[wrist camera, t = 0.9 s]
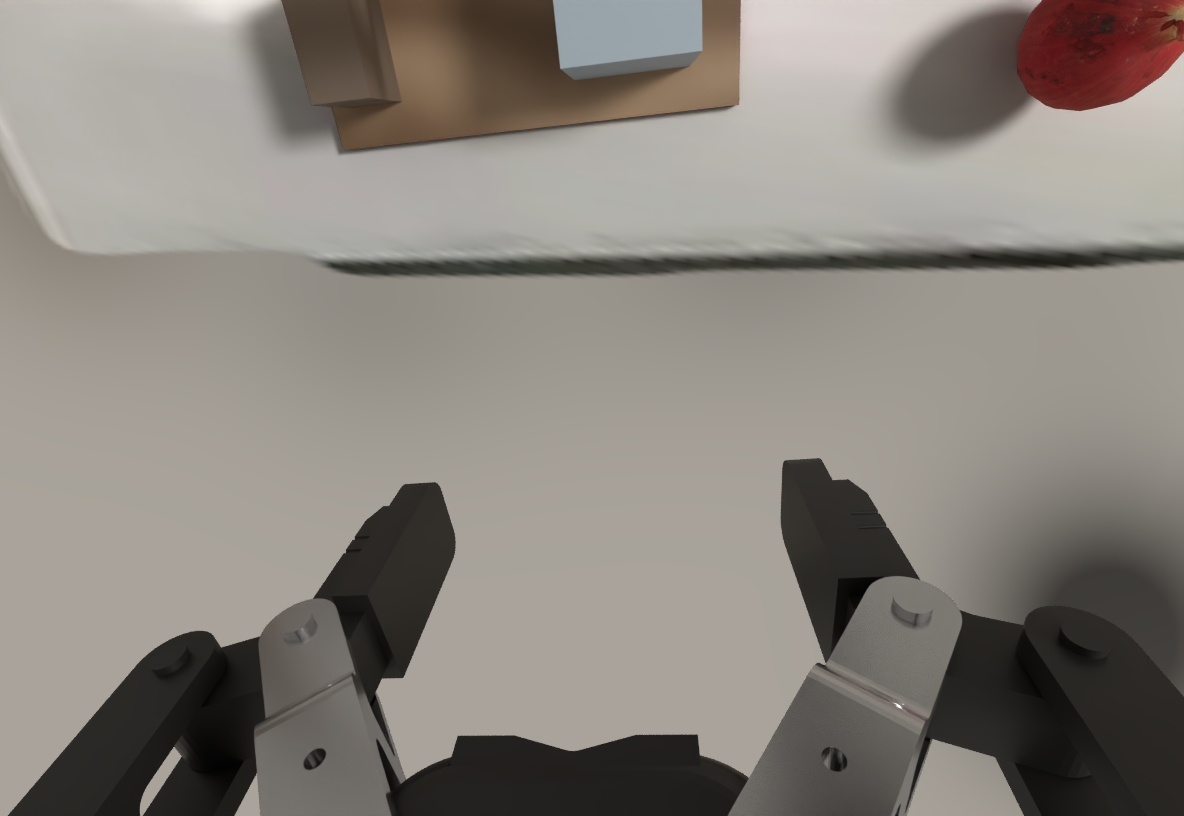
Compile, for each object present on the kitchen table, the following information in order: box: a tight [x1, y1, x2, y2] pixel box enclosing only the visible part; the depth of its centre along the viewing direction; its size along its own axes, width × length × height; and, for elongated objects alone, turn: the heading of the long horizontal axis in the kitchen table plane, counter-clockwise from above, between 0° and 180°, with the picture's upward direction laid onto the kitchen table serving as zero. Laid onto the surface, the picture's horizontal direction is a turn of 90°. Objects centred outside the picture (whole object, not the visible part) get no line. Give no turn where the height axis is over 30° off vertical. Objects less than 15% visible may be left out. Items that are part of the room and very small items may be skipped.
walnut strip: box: [282, 0, 741, 150], centre depth 26 cm, size 10×22×4 cm, turn 96°
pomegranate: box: [1017, 0, 1184, 111], centre depth 24 cm, size 6×6×8 cm
